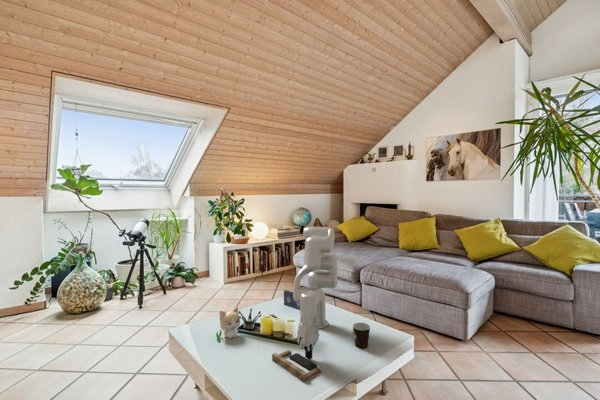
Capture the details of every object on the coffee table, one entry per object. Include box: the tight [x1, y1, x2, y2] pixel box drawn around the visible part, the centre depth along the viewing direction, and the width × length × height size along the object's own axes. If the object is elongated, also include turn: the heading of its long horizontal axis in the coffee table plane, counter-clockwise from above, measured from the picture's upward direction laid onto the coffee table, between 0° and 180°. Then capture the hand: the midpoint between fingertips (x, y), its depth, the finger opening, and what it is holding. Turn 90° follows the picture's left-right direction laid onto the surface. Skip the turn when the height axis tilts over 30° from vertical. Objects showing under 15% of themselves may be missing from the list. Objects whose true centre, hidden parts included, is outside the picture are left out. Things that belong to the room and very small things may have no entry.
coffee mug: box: [352, 322, 371, 350], centre depth 159 cm, size 12×9×10 cm
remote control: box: [289, 352, 318, 372], centre depth 142 cm, size 5×2×15 cm
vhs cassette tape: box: [283, 289, 300, 311], centre depth 209 cm, size 18×3×10 cm, turn 46°
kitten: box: [215, 306, 241, 341], centre depth 168 cm, size 15×10×15 cm
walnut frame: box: [271, 349, 322, 383], centre depth 139 cm, size 22×10×3 cm, turn 42°
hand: (308, 357), depth 145 cm, fingers closed
